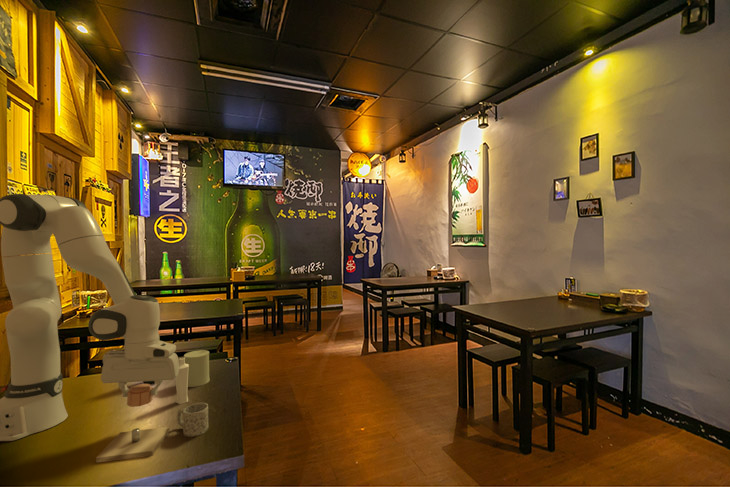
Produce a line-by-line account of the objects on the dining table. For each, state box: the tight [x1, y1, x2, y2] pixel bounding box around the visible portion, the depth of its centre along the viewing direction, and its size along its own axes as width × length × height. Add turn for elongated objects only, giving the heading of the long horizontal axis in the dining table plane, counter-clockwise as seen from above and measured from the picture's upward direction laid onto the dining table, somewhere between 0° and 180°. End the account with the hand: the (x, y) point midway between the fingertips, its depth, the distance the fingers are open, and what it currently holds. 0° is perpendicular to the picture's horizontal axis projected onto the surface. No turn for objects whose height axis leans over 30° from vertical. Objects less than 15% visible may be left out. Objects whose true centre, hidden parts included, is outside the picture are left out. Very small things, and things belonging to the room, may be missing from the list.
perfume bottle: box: [174, 357, 189, 405], centre depth 119 cm, size 5×4×15 cm
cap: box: [126, 383, 154, 408], centre depth 102 cm, size 6×6×4 cm
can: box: [183, 349, 211, 388], centre depth 136 cm, size 9×9×12 cm
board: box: [95, 426, 171, 464], centre depth 93 cm, size 13×12×1 cm
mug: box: [176, 402, 209, 438], centre depth 100 cm, size 10×7×7 cm, turn 73°
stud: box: [131, 427, 140, 443], centre depth 93 cm, size 2×2×3 cm
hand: (140, 395), depth 102 cm, fingers closed on cap, 6 cm apart
